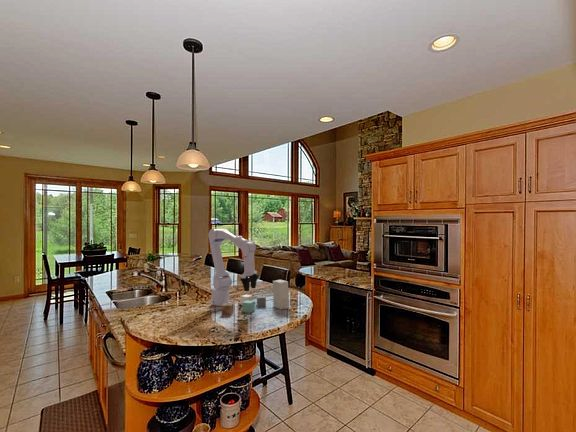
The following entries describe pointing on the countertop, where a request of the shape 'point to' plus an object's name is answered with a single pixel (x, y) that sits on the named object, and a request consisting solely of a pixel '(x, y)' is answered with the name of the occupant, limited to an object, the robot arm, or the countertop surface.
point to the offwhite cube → (245, 298)
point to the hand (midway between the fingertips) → (250, 289)
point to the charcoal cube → (261, 301)
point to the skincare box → (280, 294)
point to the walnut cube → (227, 308)
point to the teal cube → (248, 306)
